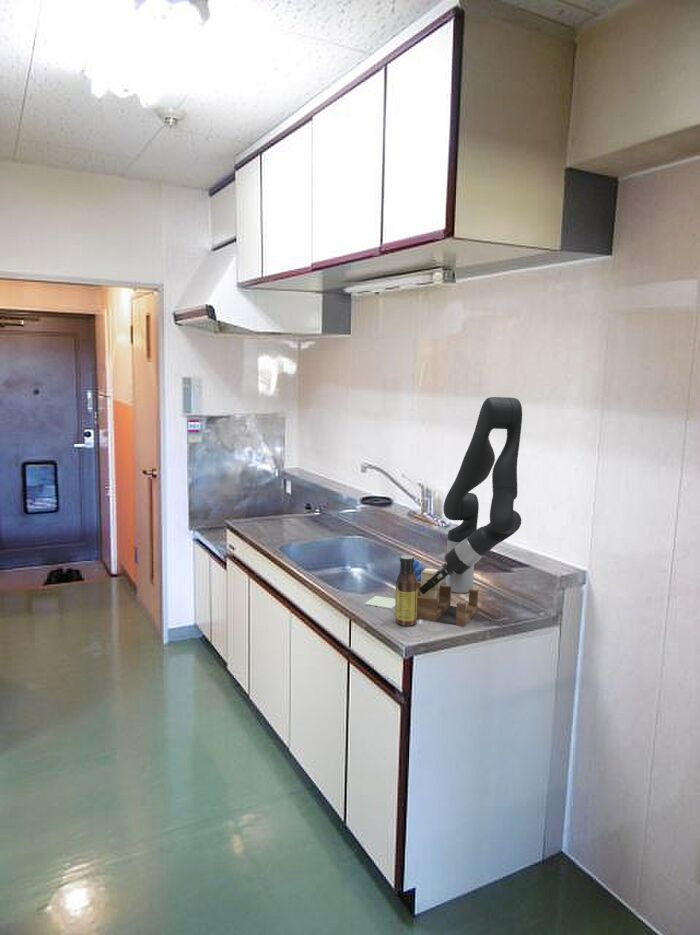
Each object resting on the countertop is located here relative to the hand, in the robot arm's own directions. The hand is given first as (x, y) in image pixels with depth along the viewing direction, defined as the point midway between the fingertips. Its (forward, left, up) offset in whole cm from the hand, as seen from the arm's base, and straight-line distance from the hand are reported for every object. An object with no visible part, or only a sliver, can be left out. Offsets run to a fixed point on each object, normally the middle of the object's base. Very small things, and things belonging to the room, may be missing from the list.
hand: (424, 588), depth 204 cm
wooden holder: (0, +4, -7) cm, 8 cm away
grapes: (-15, -8, -7) cm, 18 cm away
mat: (-1, -14, -7) cm, 15 cm away
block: (0, +2, -4) cm, 5 cm away
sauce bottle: (+13, -1, -7) cm, 15 cm away
